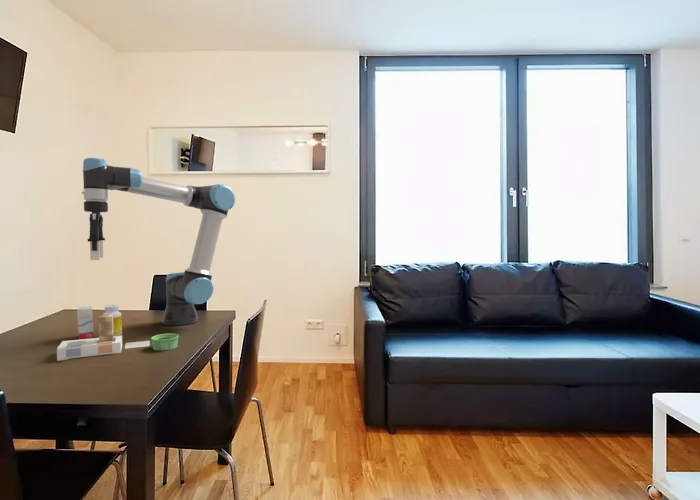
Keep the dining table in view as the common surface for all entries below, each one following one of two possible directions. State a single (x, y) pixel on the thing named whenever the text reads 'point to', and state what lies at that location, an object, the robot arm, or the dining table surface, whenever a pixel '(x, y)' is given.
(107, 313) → the supplement bottle
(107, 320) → the oak peg
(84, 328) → the ink box
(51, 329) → the dining table surface
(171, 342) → the ramekin
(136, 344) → the mat
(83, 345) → the socket board
